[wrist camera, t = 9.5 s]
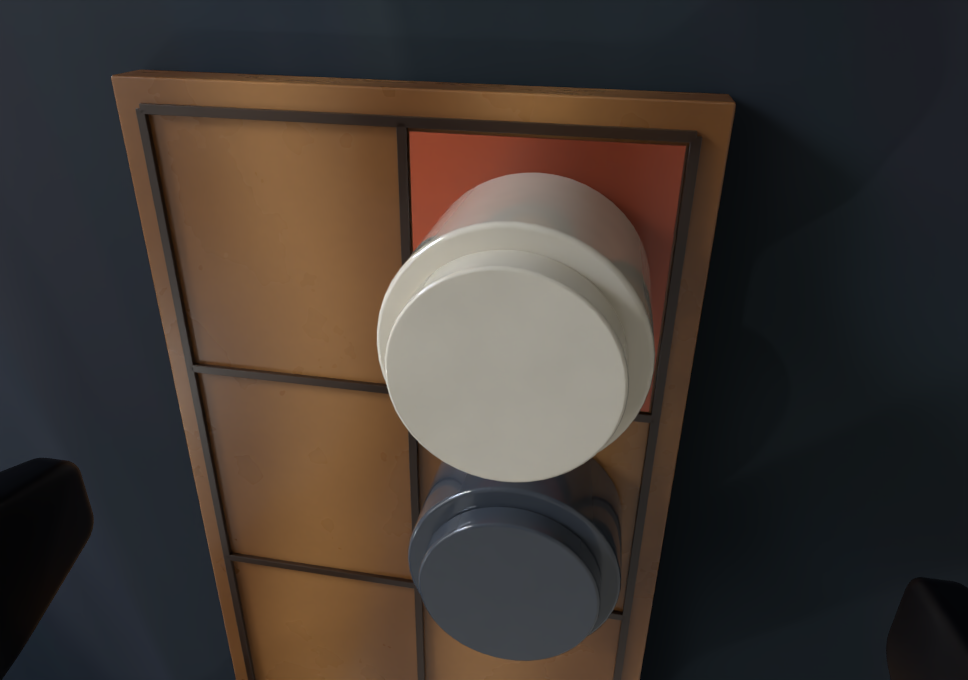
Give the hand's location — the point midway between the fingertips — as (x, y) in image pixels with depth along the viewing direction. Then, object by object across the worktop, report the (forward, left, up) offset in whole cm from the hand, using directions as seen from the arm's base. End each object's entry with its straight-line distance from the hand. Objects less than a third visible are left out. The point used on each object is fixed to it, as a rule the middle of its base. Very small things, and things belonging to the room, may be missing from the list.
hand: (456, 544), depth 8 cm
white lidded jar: (0, 0, -8) cm, 8 cm away
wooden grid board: (-3, -6, -9) cm, 11 cm away
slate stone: (0, -6, -8) cm, 10 cm away
